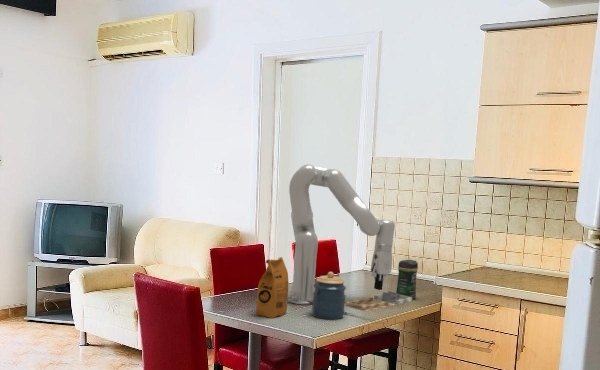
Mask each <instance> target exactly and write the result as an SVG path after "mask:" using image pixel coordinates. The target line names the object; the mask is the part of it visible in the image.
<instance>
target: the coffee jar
mask: <svg viewBox="0 0 600 370" xmlns="http://www.w3.org/2000/svg"><path fill="white" fill-rule="evenodd" d="M418 264H419V262H418V261H417V260H413V259H405V260H404V259H403V260H400V261H399V262H398V268H397V269H398V274H397V275H398V276H397V285H396V291H395V293H398V294H400V295H404V296H408V297H413V300H415V299H416V298H417V297H416V295H417V294H416V293H417V291H416V290H417V273H418V269H419V265H418Z"/></svg>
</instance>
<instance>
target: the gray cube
mask: <svg viewBox="0 0 600 370" xmlns="http://www.w3.org/2000/svg"><path fill="white" fill-rule="evenodd" d="M382 294H383V296H382V298H381V301H384V302H385V301H388V302H389V303H394V302H395V301H394V300H395V295H393V294H390V293H388V292H384V291H383V293H382Z"/></svg>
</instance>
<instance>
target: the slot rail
mask: <svg viewBox="0 0 600 370" xmlns="http://www.w3.org/2000/svg"><path fill="white" fill-rule="evenodd" d="M382 296H383V293H381V294H375V295H373V297H367V298H362V299H357V300H351V301H347V302H345V304H344V307H349V308H353V309H357V310H360V311H364V312H368V311H373V310H377V309H382V308H387V307H390V306H391V307H392V306H396V305H401V304H404V303H408V302H413V300H414V299H413V297H408V296H404V295H400V297H399V300H396V301H395V303H393V302H390V303H389V302H388V301H385V302H384V301H382V300H380V299H382ZM378 299H379V300H378Z"/></svg>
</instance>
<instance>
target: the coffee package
mask: <svg viewBox="0 0 600 370" xmlns="http://www.w3.org/2000/svg"><path fill="white" fill-rule="evenodd" d="M265 263H266V264H267V265H268V266H266V270H265V272H264V273H263V274H262V276H261V278H260V279H259V282H258V285H257V293H256V295H257V297H256V298H257V299H256V305H255V307H256V308H255V311H256V312H255V313H256V315H257V316H262V317H266V318H270V319H274V318H277V317H282V316H284V315H285V314H287V309H288V294H289V272H288V269H287V266H286V264H285V262H284V259H283V257H282V256H280V257H278V259H266V260H265Z"/></svg>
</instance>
